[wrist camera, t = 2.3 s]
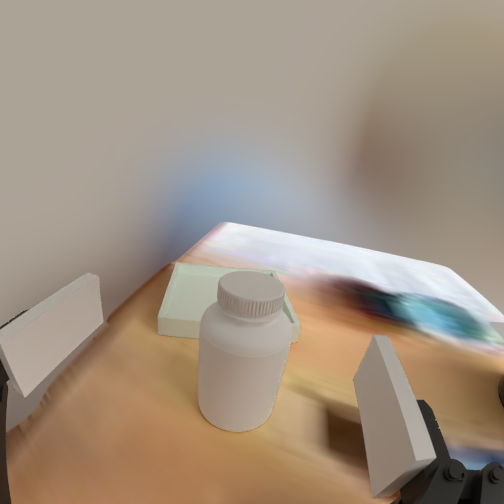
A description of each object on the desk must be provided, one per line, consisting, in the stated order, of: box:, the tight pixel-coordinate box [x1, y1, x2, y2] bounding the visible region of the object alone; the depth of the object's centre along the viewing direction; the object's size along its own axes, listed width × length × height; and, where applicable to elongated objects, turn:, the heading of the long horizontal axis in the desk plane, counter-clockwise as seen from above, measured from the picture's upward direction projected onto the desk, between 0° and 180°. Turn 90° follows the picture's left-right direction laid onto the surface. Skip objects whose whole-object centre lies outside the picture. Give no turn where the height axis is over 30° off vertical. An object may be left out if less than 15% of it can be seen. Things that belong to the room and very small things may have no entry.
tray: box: [158, 262, 301, 343], centre depth 47 cm, size 20×20×3 cm
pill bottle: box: [198, 271, 293, 432], centre depth 24 cm, size 8×8×15 cm
